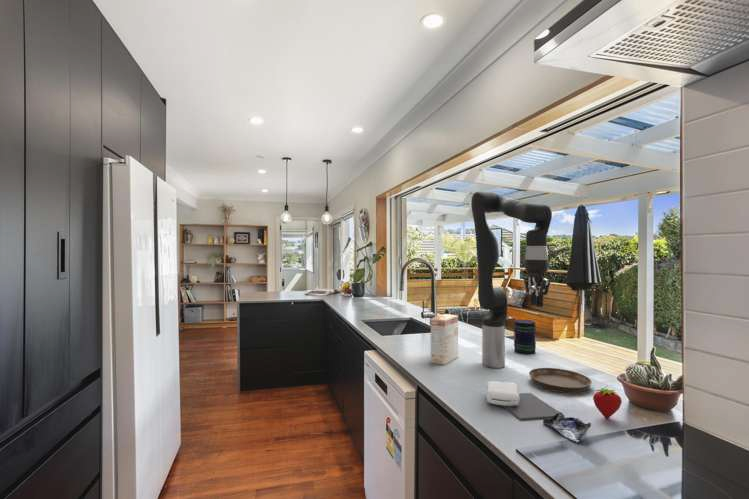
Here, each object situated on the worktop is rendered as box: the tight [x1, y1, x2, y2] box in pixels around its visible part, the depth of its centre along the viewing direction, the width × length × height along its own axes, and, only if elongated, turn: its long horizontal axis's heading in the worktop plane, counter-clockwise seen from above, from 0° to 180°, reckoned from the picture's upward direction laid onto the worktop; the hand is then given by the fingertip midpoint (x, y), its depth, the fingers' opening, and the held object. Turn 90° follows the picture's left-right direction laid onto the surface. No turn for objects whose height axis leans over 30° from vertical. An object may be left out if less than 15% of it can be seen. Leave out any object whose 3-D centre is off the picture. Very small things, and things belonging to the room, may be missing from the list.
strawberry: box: [592, 384, 622, 419], centre depth 111 cm, size 6×8×10 cm
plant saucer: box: [528, 367, 592, 394], centre depth 139 cm, size 21×21×3 cm
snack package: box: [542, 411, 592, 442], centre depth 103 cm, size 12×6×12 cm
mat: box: [502, 392, 565, 421], centre depth 120 cm, size 18×14×1 cm
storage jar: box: [513, 319, 537, 356], centre depth 185 cm, size 10×10×15 cm
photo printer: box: [485, 380, 520, 407], centre depth 123 cm, size 10×4×12 cm
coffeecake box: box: [430, 313, 459, 366], centre depth 171 cm, size 15×7×20 cm, turn 144°
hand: (536, 305), depth 138 cm, fingers open, 3 cm apart
